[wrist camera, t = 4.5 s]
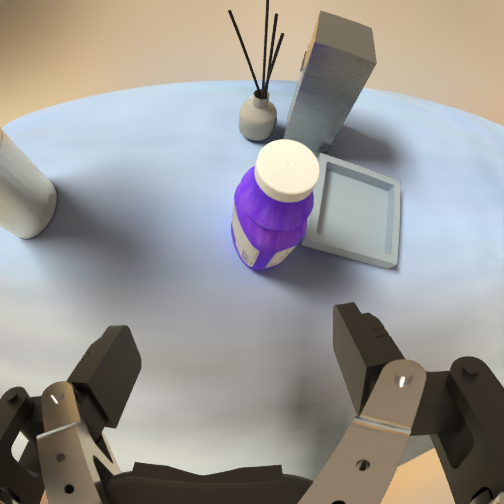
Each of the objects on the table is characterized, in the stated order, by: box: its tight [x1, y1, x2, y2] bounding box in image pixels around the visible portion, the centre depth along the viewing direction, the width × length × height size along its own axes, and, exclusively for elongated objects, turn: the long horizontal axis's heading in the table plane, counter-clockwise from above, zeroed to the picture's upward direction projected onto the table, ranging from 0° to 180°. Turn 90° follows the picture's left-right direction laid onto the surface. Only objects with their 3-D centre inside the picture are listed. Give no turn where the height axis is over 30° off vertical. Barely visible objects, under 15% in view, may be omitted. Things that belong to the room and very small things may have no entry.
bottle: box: [231, 139, 320, 270], centre depth 26 cm, size 7×6×17 cm
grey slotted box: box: [283, 11, 376, 158], centre depth 30 cm, size 7×8×18 cm
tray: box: [301, 153, 400, 269], centre depth 35 cm, size 12×12×2 cm
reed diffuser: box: [228, 0, 284, 141], centre depth 29 cm, size 10×7×20 cm
